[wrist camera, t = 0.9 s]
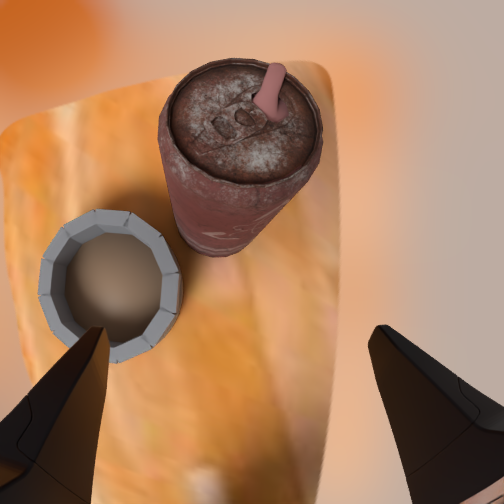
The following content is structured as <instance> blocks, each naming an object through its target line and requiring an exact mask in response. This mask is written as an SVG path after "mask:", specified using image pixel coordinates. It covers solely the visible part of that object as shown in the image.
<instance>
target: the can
mask: <svg viewBox="0 0 504 504" xmlns="http://www.w3.org/2000/svg"><path fill="white" fill-rule="evenodd" d="M286 71H287V70H286V68H285V67H284V66H283V65H282V64H280V63H271V64H269V63H265V62H262V61H258V60H255V59H242V58H229V59H223V60H218V61H213V62H209V63H207V64H205V65H203V66H201V67H199V68H197V69H195V70H193V71H191V72H190V73H189V74H188V75H187V76H185V77H184V78H183V79H182V80H181V81H180V82H179V83H178V84H177V85H176V87H175V89H174V91H173V93H172V94H171V95H170V96H169V97H168V99H167V101H166V103H165V105H164V107H163V109H162V112H161V114H160V116H159V126H158V143H159V148H160V153H161V158H162V163H163V168H164V173H165V177H166V182H167V187H168V191H169V196H170V200H171V204H172V209H173V213H174V217H175V221H176V225H177V228H178V231H179V233H180V236H181V237H182V239H183V240H184V241H185V242H186V244H187V245H188V246H189V247H190V248H192V249H193V250H195V251H196V252H198V253H199V254H203V255H206V256H210V257H227V256H230V255H232V254H235V253H238V252H239V251H241V250H242V249H243V248H244V247H246V246H247V245H248V244H249V243H250V242H251V241H252V240H253V239H254V238H255V237H256V236H257V235H258V234H259V233H260V232H261V231H262V229H263V228H264V227H265V226H266V225H267V224H268V223H269V222H270V221H271V220H272V219H273V218H274V217H275V216H276V215H277V214H278V213H279V211H280V210H281V209H282V208H283V207H284V206H285V205H286V204H287V203H288V202H289V201H290V200H291V199H292V198H293V197H294V196H295V195H296V193H297V192H298V191H299V190H300V189H301V188H302V187H303V186H304V185H305V184H306V183H307V182H308V180H309V179H310V177H311V175H312V174H313V172H314V171H315V169H316V167H317V166H318V164H319V162H320V156H321V151H322V145H323V139H322V132H323V126H322V120H321V115H320V110H319V108H318V106H317V104H316V102H315V101H314V99H313V97H312V95H311V94H310V92H309V91H308V90H307V89H306V88H305V87H304V86H303V85H302V84H301V83H300V82H299V81H298V80H297V79H296V78H295V77H294V76H292V75H291V74H289V73H287V72H286Z"/></svg>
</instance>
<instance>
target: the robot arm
mask: <svg viewBox="0 0 504 504" xmlns="http://www.w3.org/2000/svg"><path fill="white" fill-rule="evenodd" d="M368 349H369V353H370V357H371V361H372V365H373V370H374V374H375V379H376V382H377V385H378V389H379V392H380V395H381V398H382V401H383V404H384V407H385V410H386V413H387V415H388V419H389V422H390V425H391V429H392V432H393V435H394V438H395V442H396V445H397V448H398V451H399V455H400V458H401V462H402V466H403V469H404V472H405V476H406V481H407V484H408V488H409V491H410V496H411V500H412V504H504V407H503V406H502V405H500V404H498V403H497V402H495V401H494V400H492V399H491V398H489V397H487V396H486V395H484V394H482V393H481V392H480V391H478V390H476V389H475V388H473V387H472V386H470V385H469V384H468V383H466V382H465V381H464V380H462V379H461V378H460V377H457V375H456V374H454V373H453V372H452V371H450V370H449V369H448V368H446V367H445V366H443V365H442V364H441V363H439V362H438V361H437V360H435V359H434V358H433V357H431V356H430V355H428V354H427V353H426V352H424V351H423V350H422V349H420V348H419V347H418V346H416V345H414V344H413V343H412V342H411V341H409V340H408V339H406V338H405V337H404V336H402V335H401V334H400V333H398V332H397V331H395V330H394V329H392V328H391V327H390V326H388V325H378V326H376V327H375V329H374V331H373V333H372V335H371V337H370V339H369V342H368ZM109 357H110V344H109V340H108V336H107V332H106V329H105V327H103V326H92V327H90V328H89V329H88V330H87V331H86V332H85V333H84V334H83V335H82V336H81V337H80V338H79V340H78V341H77V342H76V343H75V344H74V345H73V346H72V347H71V348H70V349H69V350H68V351H67V352H66V353H65V354H64V355H63V356H62V357H61V358H60V359H59V360H58V361H57V362H56V363H55V364H54V365H53V367H52V368H51V369H50V370H49V371H48V372H47V373H46V374H45V375H44V376H43V377H42V378H41V379H40V380H39V382H38V383H37V384H36V385H35V386H34V387H33V388H32V389H31V390H30V391H29V393H28V395H26V396H25V397H24V398H23V399H22V400H21V401H20V402H19V404H18V405H17V406H16V407H15V408H14V409H13V410H12V411H11V412H10V413H9V414H8V415H7V416H6V417H5V418H4V419H3V420H2V421H1V422H0V504H91V495H92V485H93V475H94V467H95V459H96V451H97V444H98V437H99V431H100V425H101V419H102V413H103V408H104V402H105V397H106V389H107V378H108V366H109Z"/></svg>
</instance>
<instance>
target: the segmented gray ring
mask: <svg viewBox="0 0 504 504" xmlns="http://www.w3.org/2000/svg"><path fill="white" fill-rule="evenodd" d="M63 226H64V228H63V227H61V228H60V230H59V231H58V233H57V234H56V236H55V237H54V239H53V240H52V242H51V243H50V245H49V246H48V248H47V250H46V251H45V253H44V254H43V257H44V258H45V259H41V267H40V276H39V286H38V295H41V296H39V297H38V298H39V301H40V304H41V307H42V309H43V312H44V315H45V317H46V320H47V322H48V325H49V327H50V330H51V331H54V332H53V334H54V335H55V336H56V337H57V338H58V339H59V340H61V341H62V342H63V343H64V344H65V345H66V346H67V347H69V348H71V347H72V346H73V345H74V344H75V343H76V342H77V341H78V340H79V338H80V337H81V336H82V335H83V334H84V333H85V332H86V331H87V330H88V329H89V328H90V327H92V326H103V327H105V329H106V332H107V336H108V340H109V344H110V357H109V363H115V364H117V363H118V362H119V363H121V362H123V361H126V360H128V359H130V358H133V357H135V356H137V355H139V354H142V353H144V352H146V351H148V350H150V349H152V348H153V347H154V346H155V345H157V344H158V343H159V342H160V341H161V340H162V339H163V338H164V337H165V336H166V335H167V333H168V332H169V331H170V330H171V328H172V327H173V325H174V323H175V321H176V319H177V317H178V315H179V312H180V308H181V305H182V298H183V280H182V274H181V270H180V266H179V264H178V261H177V258H176V256H175V255H174V253H173V251H172V249H171V247H170V246H169V245H168V243H167V242H166V241H165V239H164V237H163V236H162V234H161V233H160V232H158V231H157V230H156V229H154V228H153V227H151V226H150V225H149V224H147V223H146V222H145V221H143V220H142V219H141V218H139V217H138V216H136V215H135V214H134V213H131V212H130V211H117V210H104V209H96V211H95V210H94V209H93V210H91V211H89V212H87V213H85V214H84V215H82V216H80V217H78V218H76V219H74V220H72V221H70V222H68V223H66V224H64V225H63Z"/></svg>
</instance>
